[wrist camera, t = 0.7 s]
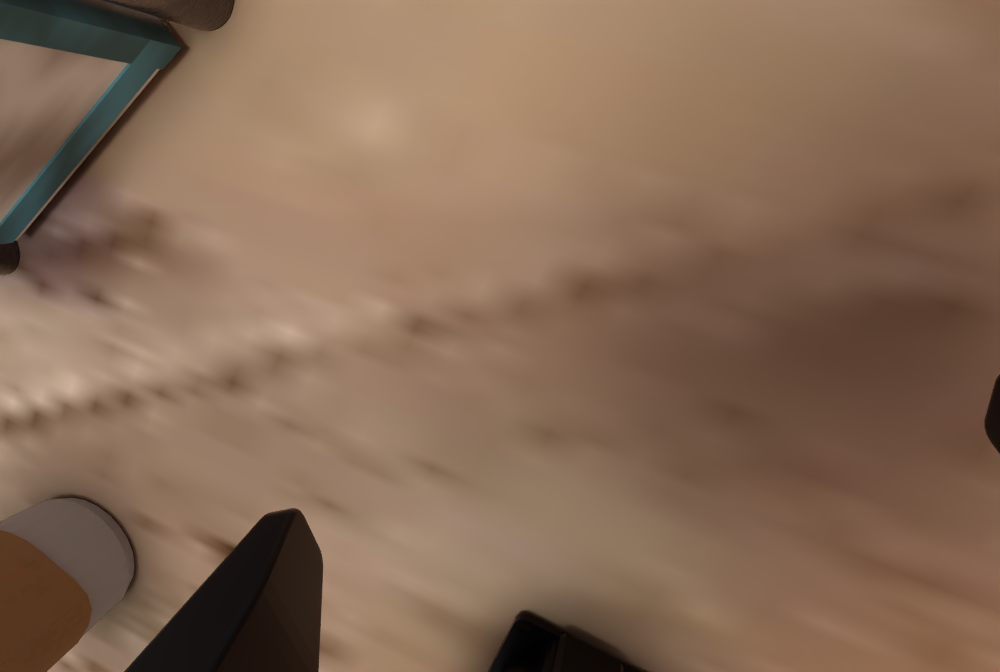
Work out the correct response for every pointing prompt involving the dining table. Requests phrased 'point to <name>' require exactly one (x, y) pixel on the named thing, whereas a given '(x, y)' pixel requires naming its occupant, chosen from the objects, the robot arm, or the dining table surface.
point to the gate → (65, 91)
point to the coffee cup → (57, 579)
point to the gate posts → (188, 3)
